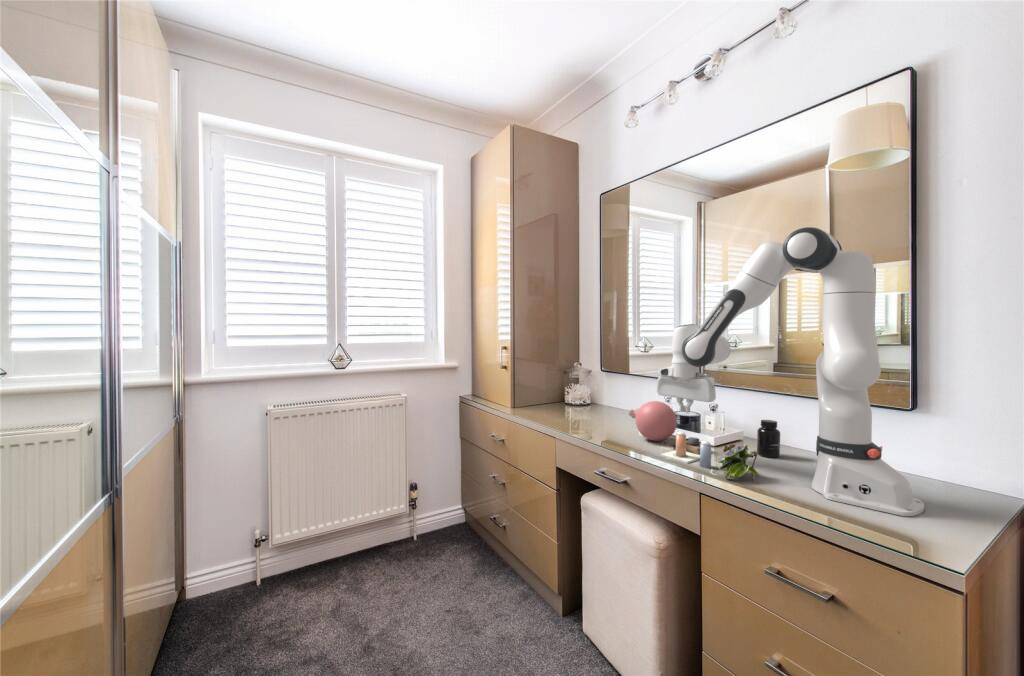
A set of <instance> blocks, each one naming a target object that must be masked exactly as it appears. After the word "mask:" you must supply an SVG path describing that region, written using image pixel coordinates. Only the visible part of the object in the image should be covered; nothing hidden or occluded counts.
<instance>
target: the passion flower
mask: <svg viewBox="0 0 1024 676" xmlns="http://www.w3.org/2000/svg"><path fill="white" fill-rule="evenodd" d="M735 447H736V444H732V443H730V444H729V445H724V449H723V448H722V451H723V453H724V454H723V455H721V456H720V460H718V462H717V463H719V464H721V465H720V466H719V468H718V469H719V470H723V469H725V470H724V478H725V480H728V479H733V478H738V479H739V478H741V477H743V476H745V474H746V473H751V481H754V476H757V477H760V476H759V473H758V472H757V470H756V469H755V468H754V466H755V462H756V459H757V457H758V453H757V449H753V450H750V453H748V450H749V448H748V444H745V445H743V446H742V445H741V446H738V447H736V448H735ZM733 448H735V449H733ZM749 458H752V459H753V458H754V459H753V462H752V465H751V464H747V460H748V459H749Z"/></svg>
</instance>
